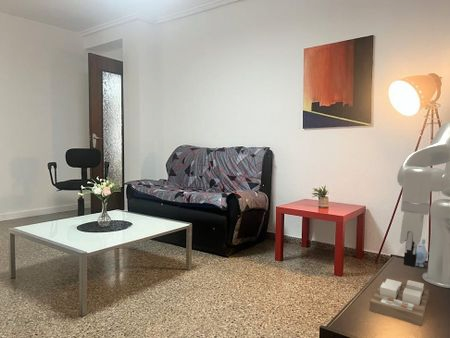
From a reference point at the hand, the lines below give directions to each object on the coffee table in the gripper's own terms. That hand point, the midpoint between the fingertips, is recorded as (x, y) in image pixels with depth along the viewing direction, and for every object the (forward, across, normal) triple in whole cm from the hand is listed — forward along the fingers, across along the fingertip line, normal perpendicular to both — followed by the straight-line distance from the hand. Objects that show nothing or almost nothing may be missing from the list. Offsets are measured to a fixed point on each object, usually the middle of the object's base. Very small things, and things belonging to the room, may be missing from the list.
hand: (409, 265), depth 107 cm
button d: (+11, +1, +1) cm, 11 cm away
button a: (+12, -7, -5) cm, 15 cm away
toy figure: (+13, -46, -2) cm, 48 cm away
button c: (+11, +1, -5) cm, 12 cm away
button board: (+13, -1, -2) cm, 14 cm away
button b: (+11, -7, +1) cm, 13 cm away
